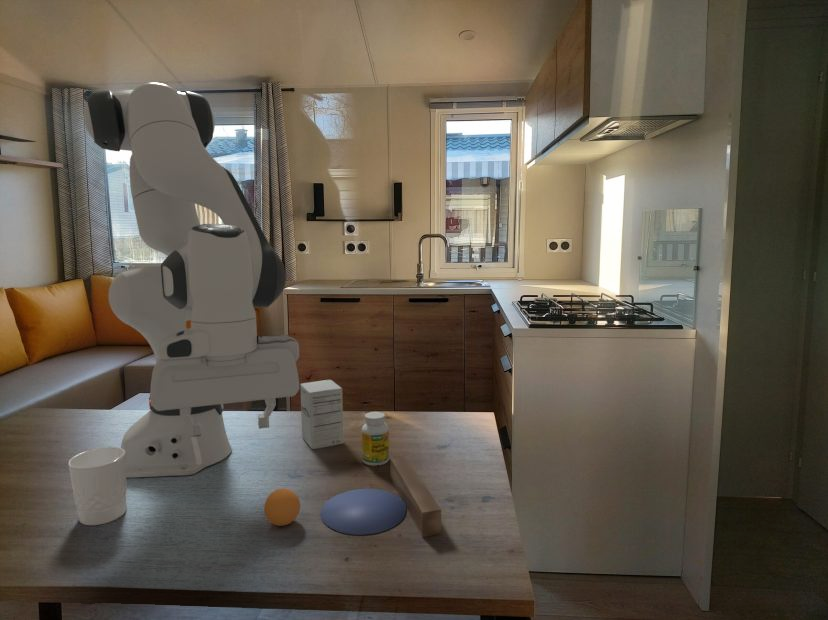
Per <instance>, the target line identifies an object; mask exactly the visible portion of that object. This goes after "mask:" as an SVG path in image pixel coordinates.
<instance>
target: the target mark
mask: <svg viewBox="0 0 828 620" xmlns="http://www.w3.org/2000/svg"><path fill="white" fill-rule="evenodd" d="M406 514H407V508H406V505H405V503H404V502H403V500H402V499H401V497H400V496H398V495H396V494H395V493H393V492H390V491H387V490H382V489H377V488H359V489H357V488H356V489H351V490H348V491H344V492H341V493H339V494H336V495H334V496H332V497H331V498H329V499H328V500H327V501H325V503H324V504H323V506H322V508H321V511H320V518H321V520H323V521H322V522H323V524H325V526H326V527H328V526H329V527H330V528H329V527H328V528H329V529H331V528H332V529H331V530H333V529H334V530H333V531H335V530H336V532H338V533H341V534H346V535H354V536H363V535H364V536H366V535H367V536H368V535H374V534H378V533H382V532H385V531H388V530H390V529H392V528H394V527H395V526H397V525H398V524H400V523H401V522H402V521H403V520H404V518H405V516H406Z"/></svg>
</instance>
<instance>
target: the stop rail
mask: <svg viewBox="0 0 828 620" xmlns="http://www.w3.org/2000/svg"><path fill="white" fill-rule="evenodd" d="M389 464H390V465H389V466H390V467H389V468H390V469H389V470H390V472H389V474H390V477H389V478H390V480H391V481H392V483H394V484H393V485H395V486H394V487H395V489H396V491H397V493H398V495H399V498H401V499H402V500H403V502H404V503H405V505H406V511H407V512H408V513H409V515H410V517H411V518H412V520H413V523H414V524H415V526H416V528H417V530H418V532H419V534H420V535H421V537H422V538H425V537H426V538H427V537H430V536H437V535H442V509H441V507H440V506H439V504H438V502H437V501H436V500H435V498H434V496H433V494H432V493H431V492H430V490H429V489H428V487H427V485H426V484H425V483H424V481H423V480H422V478H421V477H420V475H419V474H418V472H417V471H416V469H415V467H414V465H413V464H412V462H410V460H409V459H408V457H407V455H401V456H399V455H398V456H392V457H390V456H389Z"/></svg>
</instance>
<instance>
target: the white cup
mask: <svg viewBox="0 0 828 620" xmlns="http://www.w3.org/2000/svg"><path fill="white" fill-rule="evenodd" d="M67 463H68V469H69V475H70V476H69V477H70V480H71V481H70V482H71V487H72V493H73V498H74V503H75V506H76V510H77V515H78V520H79V523H80V524H82V525H85V526H98V525H105V524H107V523H111V522H113V521H115V520H117V519H119V518H120V517H122V516H123V515H124V514H125V513H126V511H127V510H128V509H127V490H128V489H127V478H126V458H125V450H124V449H122V448H121V447H117V446H105V447H97V448H93V449H89V450H86V451H83V452H80V453H78V454H76V455H74V456H72V457H71V458H70V459H69V460H68V462H67Z"/></svg>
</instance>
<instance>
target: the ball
mask: <svg viewBox="0 0 828 620" xmlns="http://www.w3.org/2000/svg"><path fill="white" fill-rule="evenodd" d="M263 508H264V509H263V511H264V512H263V513H264V515H265V517H266V519H267V521H268V522H270V523H271V524H273V525H274V526H278V527H279V526H281V527H282V526H284V527H285V526H287V525H289V524H291V523H292V522H293V521H295V520H296V518H297V517H298V515H299V513H300V509H301V501H300V498H299V497H298V495H297V493H295V492H294V491H293V490H291V489H289V488H278V489H276V490H274V491H272V492H271V493H270V494H269V495H268V497H266V500H265V501H264V505H263Z"/></svg>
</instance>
